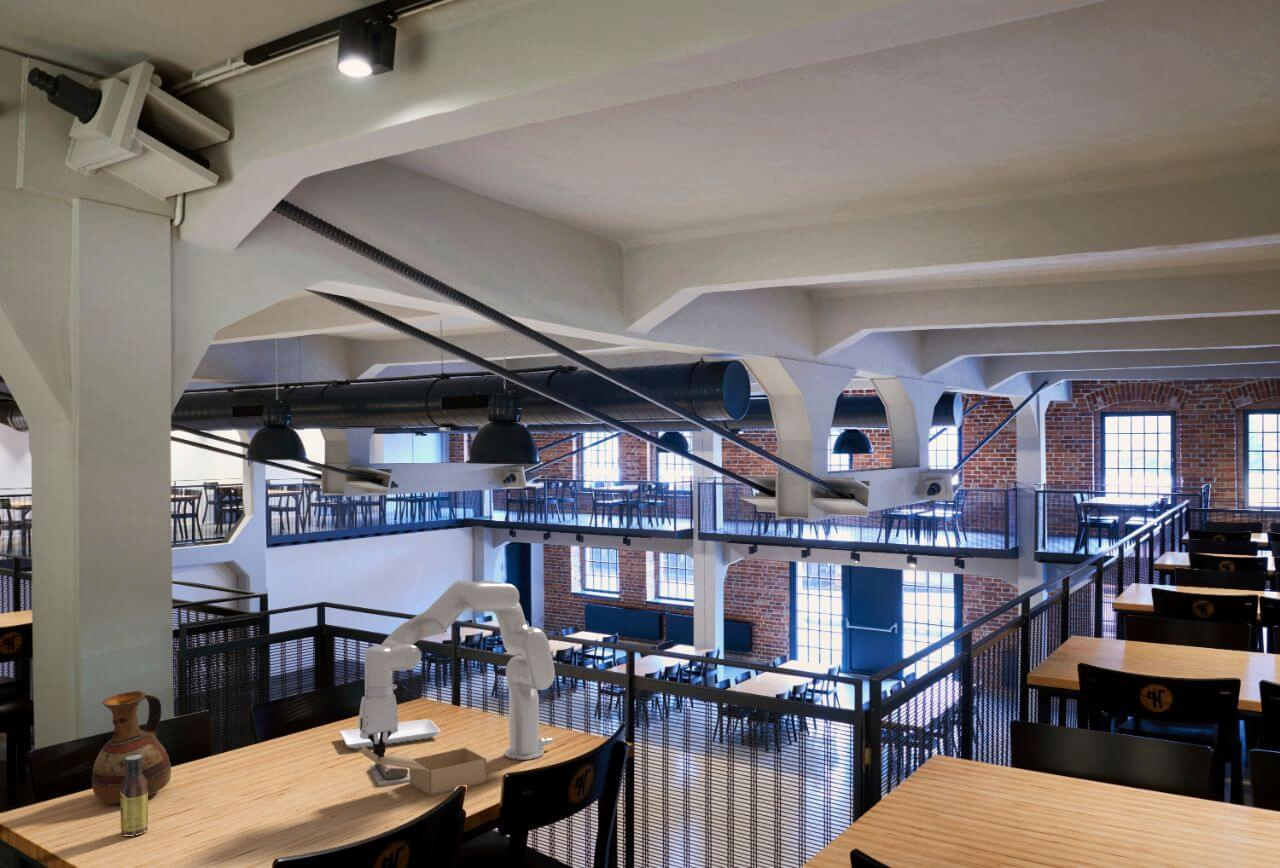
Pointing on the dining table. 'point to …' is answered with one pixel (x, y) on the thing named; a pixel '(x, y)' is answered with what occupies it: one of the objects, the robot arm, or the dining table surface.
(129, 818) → the sauce bottle
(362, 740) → the tray
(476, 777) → the mailer box
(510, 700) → the robot arm
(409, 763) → the lid
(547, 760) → the dining table surface
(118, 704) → the ceramic pitcher
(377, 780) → the packaged product
